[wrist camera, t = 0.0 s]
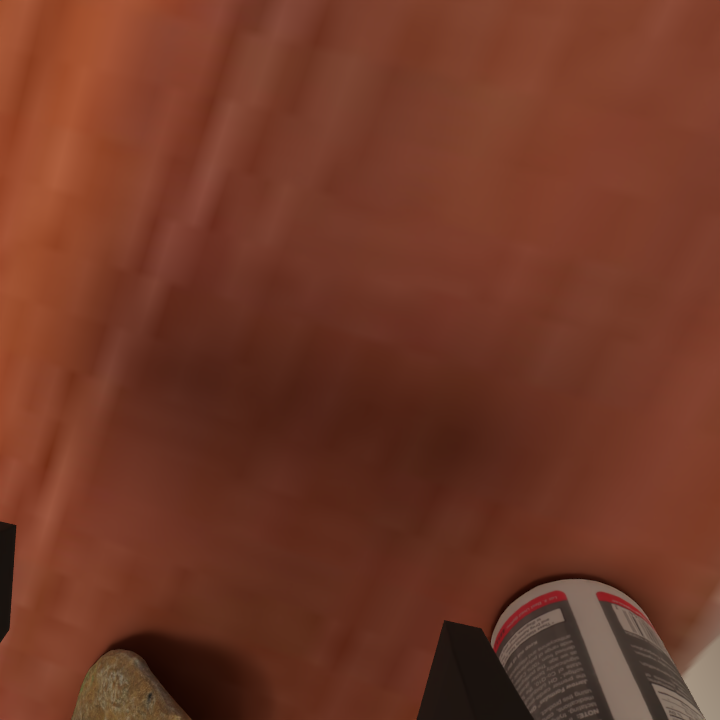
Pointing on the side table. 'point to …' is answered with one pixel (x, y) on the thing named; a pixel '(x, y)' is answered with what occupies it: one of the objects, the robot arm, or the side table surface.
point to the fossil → (124, 691)
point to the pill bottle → (589, 656)
